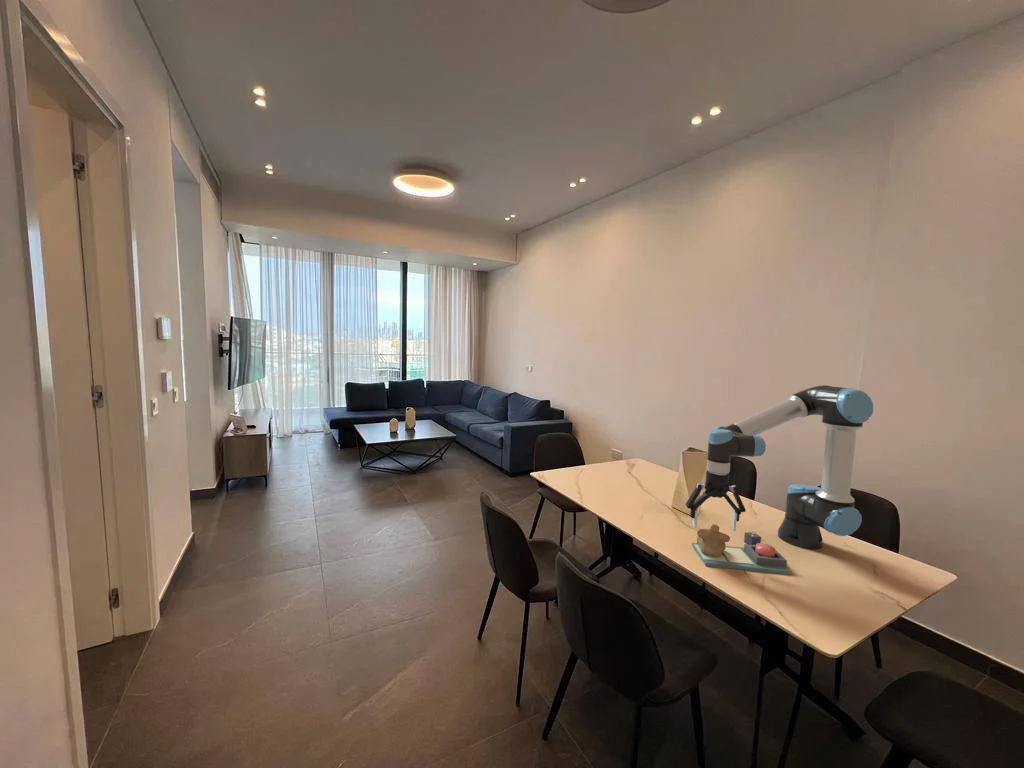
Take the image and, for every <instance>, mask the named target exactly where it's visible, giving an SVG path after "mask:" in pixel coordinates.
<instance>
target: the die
mask: <svg viewBox="0 0 1024 768" xmlns="http://www.w3.org/2000/svg"><path fill="white" fill-rule="evenodd" d="M761 541H762V536H761V535H759V534H758V533H756V532H754V531H753V532H750V531H749V532H748V531H747V532H744V539H743V542H744V544H748V545H756V544H757V543H762V542H761Z"/></svg>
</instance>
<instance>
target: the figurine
mask: <svg viewBox="0 0 1024 768" xmlns="http://www.w3.org/2000/svg"><path fill="white" fill-rule="evenodd" d="M696 535H697V536H696V543H698V545H699V546H700V548H701V552H702V553H703V554H705V555H709V556H716V557H718V556H720V555H721V554H722V552H723V551H724V550H725V548H726V546H727V545H726V543H728V542H730V540H731V538H730V535H728V534H727V533H724V532H721V531H720V526H719V525H718V524H713V523H712V525H711V526H710V528H702V529H699V530H698V531H697V532H696Z"/></svg>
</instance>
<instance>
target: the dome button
mask: <svg viewBox="0 0 1024 768" xmlns="http://www.w3.org/2000/svg"><path fill="white" fill-rule="evenodd" d="M775 550H776V548H775V547H774V546H773V545H770V544H767V543H763V542H761V543H757V544H756V549H755V552H756V553H757V554H758V555H759V556H765V557H774V556H775Z"/></svg>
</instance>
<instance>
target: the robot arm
mask: <svg viewBox="0 0 1024 768" xmlns="http://www.w3.org/2000/svg"><path fill="white" fill-rule="evenodd" d="M873 413H874V402H873V400H872V398H871V397H870V395H868V394H867V392H864V391H863V390H860V389H854V388H852V387H844V386H843V387H842V386H831V385H815V386H812V387H810V388H806V389H803V390H801V391H800V390H799V391H798V392H795V393H793V394H791V395H789V396H788V397H787V399H786V400H784V401H782V402H779V403H777V404H774V405H773V406H771V407H768V408H766V409H764V410H762V411H759V412H757V413H754V414H752V415H750V416H747V417H745V418H743V419H741V420H738V421H736V422H734V423H731V424H729V425H727V426H720V425H718V426H715V427H714V428H712V429H711V430H710V431H709V434H708V440H707V443H708V445H707V460H706V473H705V483H703V484H702V483H700V482H696V484H695V488H694V490H693V491H692V493H691V494H690V496H689V498H688V500H686V503H685V506H686V508H688V509H690V511H689V512H690V513H689V515H690V518H691V521H692V527H693V528H694V529H697V528H698V527H697V526H698V517H699V516H698V515H699V514H698V513H699V511H698V508H699V507H700V506H701V505H702V504H703V503H704V502H706V501H707V500H708V499H710V498H711V497H712V498H718V499H721V498H724V499H725V500H726V501H727V503H728V504H729V505H730V506H731V508H732V509H733V510H731V518H730V529H731V530H732V531H733V532H736V530H737V522H739V521H740V515H742V513H745V512H747V510H746V507H745V505H744V503H743V501H742V498H741V496H740V494H739V488H738V486H737V485H735V484H732V485H729V483H730V474H729V473H730V472H731V471H730V470H731V459H732V457H752V458H753V457H761V456H763V455H764V454H765V452H766V446H767V445H766V441H765V440H764V438H763V437H762V436H760V435H761V434H763V433H765V432H767V431H770V430H772V429H773V428H776V427H778V426H781V425H783V424H785V423H788V422H790V421H792V420H795V419H797V418H802V419H803V418H806V417H809V416H813V415H814V416H815V415H816V416H821V417H822V420H821V423H822V424H823V425H824V426H825V427H826V432H825V441H824V442H825V443H824V451H823V452H824V453H823V463H822V473H821V483H820V487H819V486H816V485H809V484H802V483H801V484H800V483H799V484H798V483H794V484H790V485H789V486H788V489H787V492H786V501H785V511H784V512H785V514H784V519H783V520H782V522H781V524H780V526H779V527H778V530H777V537H778V538H779V539H781V540H782V541H784V542H786V543H788V544H791V545H792V546H796V547H800V548H803V549H811V550H817V549H821V548H822V547H823V544H824V540H823V536H822V532H821V529H820V528H822V529H823V530H825V531H827V532H828V533H831V534H833V535H836V536H839V537H847V536H849V535H852V534H853V533H854V532H856V531H857V530H858V529H859V528H860V526H861V524H862V521H863V519H862V518H863V516H862V514H861V513H860V510H858V509H856V508H855V501H856V500H855V498H854V497H853V496H852V495H851V488H852V487H851V486H852V480H853V479H852V476H853V467H854V457H855V449H856V448H855V447H856V439H857V431H858V430H859V429H861V428H862V427H863V426H864V425H863V423H865V422H867V421H869V419H870V418H871V417H872V416H873ZM704 489H705V490H704ZM703 490H704V491H703ZM702 491H703V492H702ZM729 491H730V492H732V494H733V497H734V499H735V502H736V504H737V505H736V504H735V502H734V501H733V500H732V499H731V498H730V497H729V495H728V494H727V493H728V492H729ZM701 492H702V494H701ZM700 494H701V495H700ZM699 495H700V496H699Z"/></svg>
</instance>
